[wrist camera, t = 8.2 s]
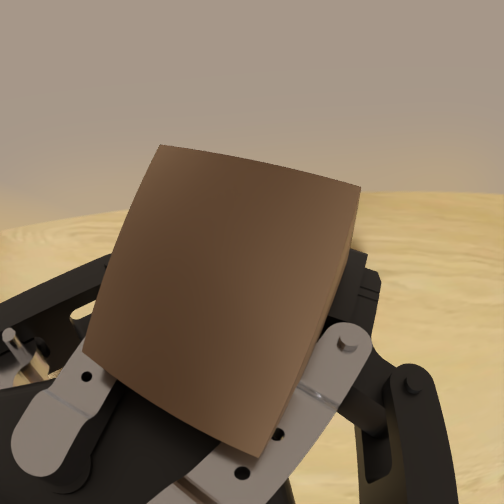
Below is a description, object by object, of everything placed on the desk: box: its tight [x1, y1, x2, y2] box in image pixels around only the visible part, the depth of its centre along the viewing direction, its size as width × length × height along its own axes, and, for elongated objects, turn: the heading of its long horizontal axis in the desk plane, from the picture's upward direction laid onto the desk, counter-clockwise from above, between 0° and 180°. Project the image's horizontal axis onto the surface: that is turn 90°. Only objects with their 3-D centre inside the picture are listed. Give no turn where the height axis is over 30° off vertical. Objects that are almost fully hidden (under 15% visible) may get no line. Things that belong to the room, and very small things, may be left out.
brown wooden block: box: [82, 145, 361, 458], centre depth 10 cm, size 4×4×13 cm
